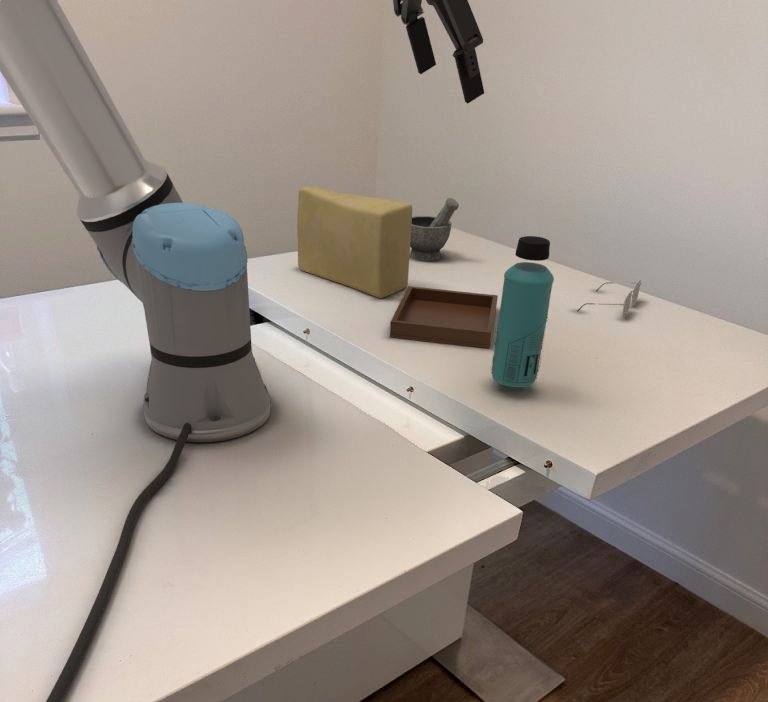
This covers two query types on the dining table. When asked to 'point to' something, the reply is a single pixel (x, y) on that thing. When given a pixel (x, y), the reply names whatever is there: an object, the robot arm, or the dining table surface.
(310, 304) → the dining table surface
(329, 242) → the cheese
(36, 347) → the dining table surface
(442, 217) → the mortar and pestle
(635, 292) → the eyeglasses
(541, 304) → the beverage bottle
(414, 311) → the tray
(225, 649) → the dining table surface
